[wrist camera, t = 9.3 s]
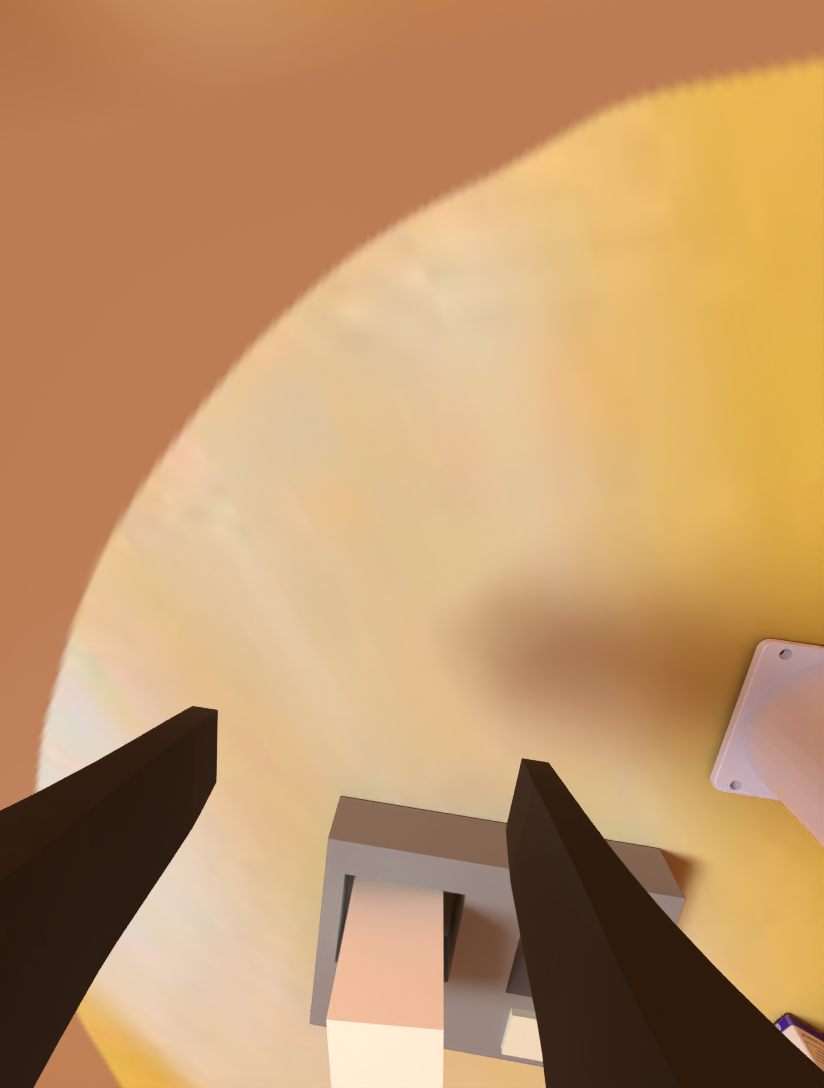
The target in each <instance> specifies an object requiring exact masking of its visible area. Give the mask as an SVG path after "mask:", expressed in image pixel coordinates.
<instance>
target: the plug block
mask: <svg viewBox="0 0 824 1088" xmlns="http://www.w3.org/2000/svg"><path fill="white" fill-rule="evenodd" d="M326 1023H327V1036H328V1050H329V1063H330V1076H331V1088H443V1036H444V990H443V891H441V890H435V889H429V888H423V887H417V886H412V885H406V884H400V883H394V882H388V881H382V880H377V879H371V878H365V877H359V876H355V878H354V883H353V888H352V893H351V898H350V903H349V908H348V913H347V918H346V923H345V928H344V933H343V938H342V943H341V948H340V953H339V958H338V963H337V968H336V973H335V978H334V983H333V988H332V993H331V998H330V1004H329V1009H328V1014H327V1019H326Z"/></svg>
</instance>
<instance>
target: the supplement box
mask: <svg viewBox="0 0 824 1088" xmlns="http://www.w3.org/2000/svg"><path fill="white" fill-rule="evenodd" d="M774 1025H775V1026H776V1027H777V1028H778V1029H779V1030H780V1031H781V1032H782V1033H783V1034H784V1035H785V1036H786V1037H787V1038H788V1039H789V1040H790V1041H791V1042H792V1043H793V1044H795V1045H796V1046H797V1047H798V1048H799V1049H800V1050H801V1051H802V1052H803V1053H804V1054H805V1055H806V1056H808V1057H809V1058H810V1059H811V1060H812V1061H813V1062H814V1063H815V1064H816V1065H817V1066H818V1067H820V1068H821V1069H822V1070H823V1071H824V1035H823V1034H821V1033H820V1032H818V1031H816V1030H815V1029H813V1028H812V1027H810V1026H808V1025H807V1024H805V1023H803V1022H801V1021H800V1020H798V1019H796V1018H795V1017H793V1016H791V1015H789V1014H787V1015H785V1016H784V1017H783V1018H781V1019H780V1020H779V1021H778V1022H777V1023H776V1024H774Z"/></svg>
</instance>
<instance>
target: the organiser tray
mask: <svg viewBox="0 0 824 1088" xmlns="http://www.w3.org/2000/svg"><path fill="white" fill-rule="evenodd" d="M506 826H507V824H506V823H500V822H494V821H487V820H481V819H475V818H469V817H463V816H457V815H451V814H445V813H439V812H433V811H427V810H421V809H415V808H408V807H402V806H396V805H390V804H384V803H378V802H372V801H366V800H360V799H354V798H348V797H342V796H340V799H339V802H338V806H337V809H336V813H335V816H334V820H333V823H332V827H331V830H330V834H329V837H328V845H327V855H326V865H325V875H324V885H323V895H322V905H321V915H320V925H319V935H318V945H317V955H316V965H315V975H314V985H313V994H312V1004H311V1014H310V1024H313V1025H318V1026H324V1027H327V1023H326V1019H327V1014H328V1009H329V1004H330V998H331V993H332V988H333V983H334V978H335V973H336V968H337V963H338V958H339V953H340V948H341V943H342V938H343V933H344V928H345V923H346V918H347V913H348V908H349V903H350V898H351V893H352V888H353V883H354V878H355V876H359V877H365V878H371V879H377V880H382V881H388V882H394V883H400V884H406V885H412V886H417V887H423V888H429V889H435V890H441V891H443V990H444V1036H443V1049H448V1050H454V1051H459V1052H465V1053H470V1054H475V1055H481V1056H486V1057H492V1058H497V1059H502V1060H508V1061H513V1062H519V1063H524V1064H530V1065H535V1066H540V1067H543V1058H542V1051H541V1045H540V1039H539V1032H538V1026H537V1020H536V1014H535V1009H534V1004H533V999H532V994H531V988H530V983H529V978H528V973H527V968H526V962H525V957H524V952H523V947H522V942H521V936H520V931H519V926H518V921H517V915H516V910H515V905H514V899H513V894H512V888H511V883H510V874H509V863H508V852H507V839H506ZM606 842H607V843H608V844H609V845H610V847H611V848H612V849H613V851H614V852H615V853H616V854H617V856H618V857H619V858H620V859H621V861H622V862H623V863H624V864H625V866H626V867H627V868H628V869H629V871H630V872H631V873H632V874H633V875H634V877H635V878H636V879H637V880H638V881H639V883H640V884H641V885H642V886H643V887H644V889H645V890H646V891H647V892H648V893H649V894H650V896H651V897H652V898H653V899H654V900H655V902H656V903H657V904H658V905H659V906H660V907H661V909H662V910H663V911H664V912H665V913H666V914H667V915H668V916H669V918H670V919H671V920H672V921H673V922H674V923H675V924H677V921H678V918H679V916H680V913H681V910H682V908H683V905H684V903H685V900H686V898H685V896H684V894H683V892H682V890H681V889H680V887H679V885H678V883H677V881H676V879H675V877H674V875H673V874H672V872H671V870H670V868H669V866H668V864H667V862H666V860H665V858H664V857H663V855H662V853H661V851H660V849H658V848H652V847H645V846H639V845H633V844H627V843H621V842H615V841H609V840H606Z"/></svg>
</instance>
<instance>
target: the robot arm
mask: <svg viewBox="0 0 824 1088" xmlns="http://www.w3.org/2000/svg"><path fill="white" fill-rule="evenodd" d="M784 649H785V651H784V653H783V654H781V655H779V653H780V652H781V651H782V650H784ZM217 721H218V710H215V709H208V708H202V707H196V706H192V707H190V708H188V709H186V710H184V711H183V712H181V713H179V714H177V715H176V716H174V717H172V718H170V719H169V720H167V721H165V722H163V723H162V724H160V725H158V726H157V727H155V728H153V729H151V730H150V731H148V732H146V733H145V734H143V735H141V736H140V737H138V738H136V739H134V740H133V741H131V742H129V743H127V744H126V745H124V746H122V747H120V748H119V749H117V750H115V751H113V752H112V753H110V754H108V755H106V756H105V757H103V758H101V759H99V760H98V761H96V762H94V763H92V764H90V765H88V766H86V767H84V768H83V769H81V770H79V771H77V772H75V773H73V774H71V775H69V776H68V777H66V778H64V779H62V780H60V781H58V782H56V783H54V784H52V785H51V786H49V787H47V788H45V789H43V790H41V791H39V792H37V793H35V794H33V795H31V796H29V797H27V798H25V799H23V800H21V801H19V802H17V803H15V804H13V805H11V806H9V807H7V808H5V809H3V810H1V811H0V1088H34V1086H35V1084H36V1082H37V1080H38V1078H39V1077H40V1075H41V1073H42V1071H43V1069H44V1067H45V1066H46V1064H47V1062H48V1060H49V1058H50V1056H51V1055H52V1053H53V1051H54V1049H55V1047H56V1046H57V1044H58V1042H59V1040H60V1038H61V1036H62V1035H63V1033H64V1031H65V1030H66V1028H67V1026H68V1024H69V1023H70V1021H71V1019H72V1017H73V1015H74V1014H75V1012H76V1010H77V1008H78V1007H79V1005H80V1003H81V1001H82V1000H83V998H84V996H85V994H86V993H87V991H88V989H89V987H90V986H91V984H92V982H93V980H94V978H95V977H96V975H97V973H98V972H99V970H100V968H101V967H102V965H103V964H104V962H105V960H106V959H107V957H108V955H109V954H110V952H111V951H112V949H113V947H114V946H115V944H116V943H117V941H118V940H119V938H120V937H121V935H122V934H123V932H124V931H125V929H126V928H127V926H128V925H129V923H130V922H131V920H132V919H133V917H134V916H135V914H136V913H137V911H138V910H139V908H140V907H141V905H142V904H143V902H144V901H145V899H146V898H147V896H148V895H149V893H150V892H151V890H152V889H153V887H154V886H155V884H156V883H157V881H158V880H159V878H160V877H161V875H162V874H163V872H164V871H165V869H166V868H167V866H168V865H169V863H170V862H171V860H172V858H173V857H174V855H175V854H176V852H177V851H178V849H179V848H180V846H181V845H182V843H183V842H184V840H185V839H186V837H187V836H188V834H189V832H190V831H191V829H192V828H193V826H194V824H195V822H196V820H197V819H198V817H199V815H200V813H201V811H202V809H203V807H204V805H205V803H206V801H207V799H208V797H209V795H210V793H211V791H212V789H213V788H214V786H215V784H216V774H217ZM733 781H735V782H733ZM710 782H711V784H712V785H713V786H714V787H715V788H716V789H717V790H719V791H722V792H728V793H734V794H741V795H747V796H753V797H759V798H766V799H772V800H778V801H780V802H781V803H782V804H783V805H784V806H785V807H786V808H787V809H788V810H789V811H790V812H791V813H792V814H793V815H794V816H795V818H796V819H797V820H798V821H799V822H800V823H801V824H802V825H803V826H804V827H805V828H806V829H807V830H808V831H809V832H810V834H811V835H812V836H813V837H814V838H815V839H816V840H817V841H818V842H819V843H820V844H821V845H822V846H823V847H824V646H818V645H811V644H804V643H797V642H791V641H784V640H777V639H766V640H763V641H762V642H760V643H759V644H758V646H757V648H756V651H755V653H754V656H753V659H752V662H751V665H750V667H749V670H748V673H747V676H746V678H745V681H744V684H743V687H742V690H741V692H740V695H739V698H738V701H737V703H736V706H735V709H734V712H733V714H732V717H731V720H730V723H729V726H728V728H727V731H726V734H725V737H724V739H723V742H722V745H721V748H720V751H719V753H718V756H717V759H716V762H715V764H714V767H713V770H712V773H711V775H710ZM732 782H733V783H732ZM506 839H507V852H508V863H509V874H510V883H511V888H512V894H513V899H514V905H515V910H516V915H517V921H518V926H519V931H520V936H521V942H522V947H523V952H524V957H525V962H526V968H527V973H528V978H529V983H530V988H531V994H532V999H533V1004H534V1009H535V1014H536V1020H537V1026H538V1032H539V1039H540V1045H541V1051H542V1058H543V1067H544V1075H545V1083H546V1088H824V1071H823V1070H822V1069H821V1068H820V1067H818V1066H817V1065H816V1064H815V1063H814V1062H813V1061H812V1060H811V1059H810V1058H809V1057H808V1056H806V1055H805V1054H804V1053H803V1052H802V1051H801V1050H800V1049H799V1048H798V1047H797V1046H796V1045H795V1044H793V1043H792V1042H791V1041H790V1040H789V1039H788V1038H787V1037H786V1036H785V1035H784V1034H783V1033H782V1032H781V1031H780V1030H779V1029H778V1028H777V1027H776V1026H775V1025H774V1024H773V1023H772V1022H771V1021H770V1020H769V1019H767V1018H766V1017H765V1016H764V1015H763V1014H762V1013H761V1012H760V1011H759V1010H758V1009H757V1008H756V1007H755V1006H754V1005H753V1004H752V1003H751V1002H750V1001H749V1000H748V999H747V998H746V997H745V996H744V995H743V994H742V993H741V992H740V991H739V990H738V989H737V988H736V987H735V986H734V985H733V984H732V983H731V982H730V981H729V980H728V979H727V978H726V977H725V976H724V975H723V974H722V973H721V972H720V971H719V970H718V969H717V968H716V967H715V966H714V965H713V964H712V963H711V962H710V961H709V960H708V959H707V957H706V956H705V955H704V954H703V953H702V952H701V951H700V950H699V949H698V948H697V947H696V946H695V945H694V944H693V943H692V941H691V940H690V939H689V938H688V937H687V936H686V935H685V934H684V933H683V932H682V931H681V930H680V929H679V928H678V926H677V925H676V924H675V923H674V922H673V921H672V920H671V919H670V918H669V916H668V915H667V914H666V913H665V912H664V911H663V910H662V909H661V907H660V906H659V905H658V904H657V903H656V902H655V900H654V899H653V898H652V897H651V896H650V894H649V893H648V892H647V891H646V890H645V889H644V887H643V886H642V885H641V884H640V883H639V881H638V880H637V879H636V878H635V877H634V875H633V874H632V873H631V872H630V871H629V869H628V868H627V867H626V866H625V864H624V863H623V862H622V861H621V859H620V858H619V857H618V856H617V854H616V853H615V852H614V851H613V849H612V848H611V847H610V845H609V844H608V843H607V842H606V840H605V839H604V838H603V836H602V835H601V834H600V832H599V831H598V830H597V828H596V827H595V826H594V824H593V823H592V822H591V820H590V819H589V818H588V816H587V815H586V814H585V812H584V811H583V810H582V808H581V807H580V805H579V804H578V803H577V801H576V800H575V798H574V797H573V796H572V794H571V793H570V792H569V790H568V789H567V787H566V786H565V785H564V783H563V782H562V780H561V779H560V778H559V776H558V775H557V773H556V772H555V771H554V769H553V768H552V767H551V765H550V764H549V763H548V762H542V761H536V760H529V759H523V758H522V760H521V765H520V769H519V774H518V778H517V782H516V787H515V791H514V796H513V800H512V804H511V809H510V813H509V817H508V822H507V826H506Z"/></svg>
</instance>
